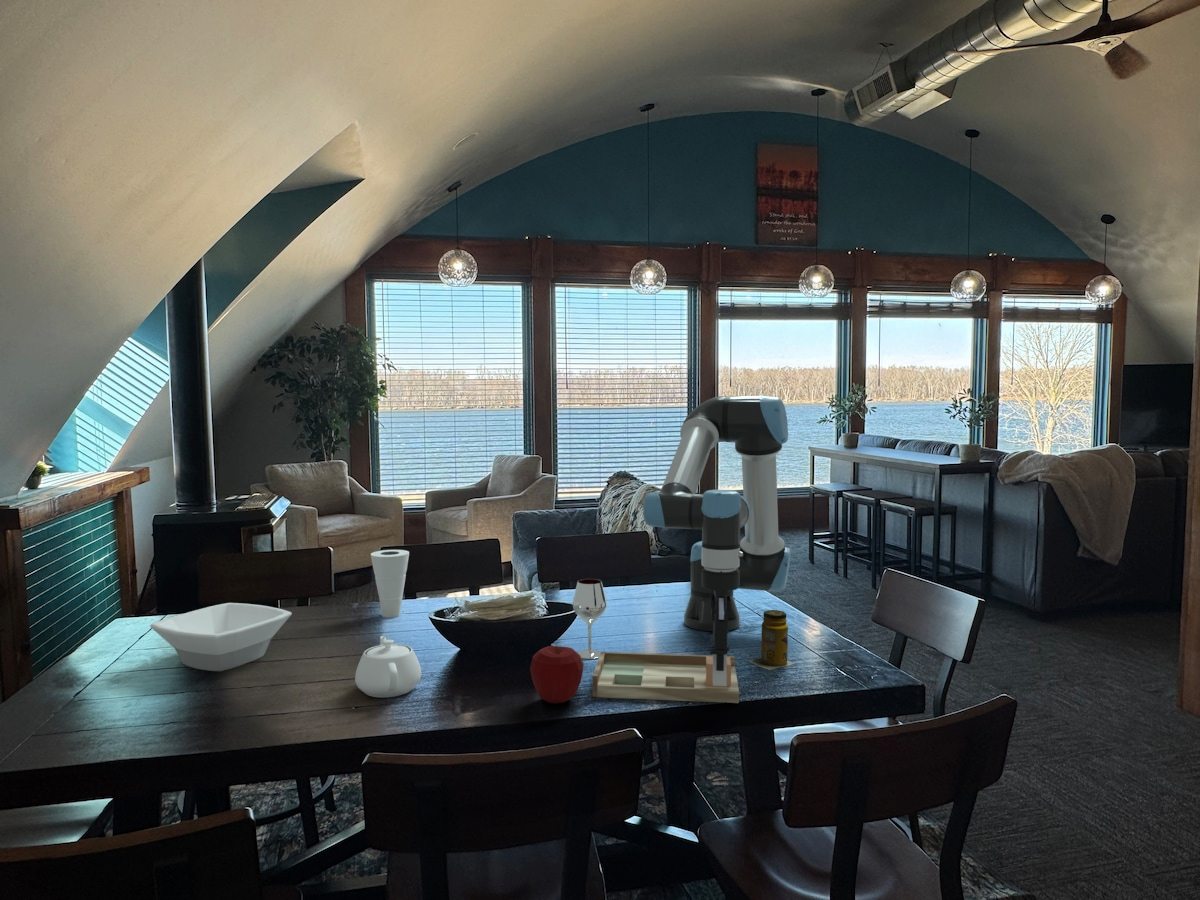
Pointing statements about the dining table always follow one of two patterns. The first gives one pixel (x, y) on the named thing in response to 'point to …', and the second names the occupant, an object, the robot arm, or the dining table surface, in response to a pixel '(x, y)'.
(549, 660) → the apple
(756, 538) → the robot arm
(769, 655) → the condiment
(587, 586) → the wineglass
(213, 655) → the bowl
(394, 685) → the teapot
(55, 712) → the dining table surface
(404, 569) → the cup
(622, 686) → the tray
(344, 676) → the dining table surface
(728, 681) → the block
